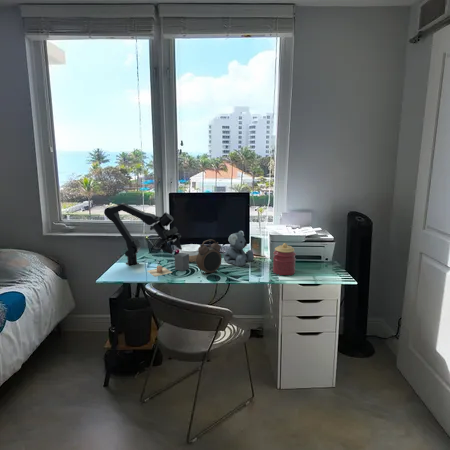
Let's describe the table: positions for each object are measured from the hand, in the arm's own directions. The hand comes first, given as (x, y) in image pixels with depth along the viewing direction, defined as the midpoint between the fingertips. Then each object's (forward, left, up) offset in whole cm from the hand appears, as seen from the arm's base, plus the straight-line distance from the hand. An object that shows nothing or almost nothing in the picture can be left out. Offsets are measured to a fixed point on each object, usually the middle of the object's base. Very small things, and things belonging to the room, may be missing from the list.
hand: (176, 251), depth 209 cm
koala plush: (+10, +37, -11) cm, 40 cm away
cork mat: (0, -12, -11) cm, 16 cm away
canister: (+42, +47, -11) cm, 64 cm away
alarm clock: (+18, +11, -11) cm, 24 cm away
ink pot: (0, -12, -10) cm, 15 cm away
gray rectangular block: (+3, +1, -11) cm, 11 cm away
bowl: (-11, +16, -11) cm, 23 cm away
